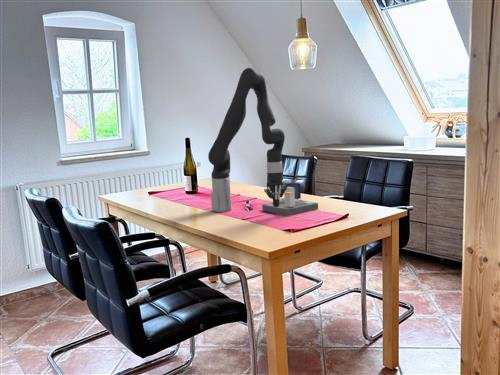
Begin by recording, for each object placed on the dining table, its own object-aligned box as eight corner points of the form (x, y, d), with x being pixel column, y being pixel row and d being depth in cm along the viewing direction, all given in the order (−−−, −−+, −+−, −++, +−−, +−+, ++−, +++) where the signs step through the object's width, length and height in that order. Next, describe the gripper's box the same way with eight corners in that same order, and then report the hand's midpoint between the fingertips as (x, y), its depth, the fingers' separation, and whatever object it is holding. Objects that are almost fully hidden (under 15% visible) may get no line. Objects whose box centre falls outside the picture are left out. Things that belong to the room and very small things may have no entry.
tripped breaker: (290, 206, 236) (289, 193, 234) (284, 205, 239) (284, 192, 238) (294, 205, 237) (294, 192, 236) (289, 204, 240) (288, 191, 239)
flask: (284, 198, 277) (284, 179, 275) (286, 197, 280) (285, 178, 278) (299, 198, 273) (299, 180, 271) (301, 197, 276) (301, 179, 274)
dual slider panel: (287, 215, 232) (286, 209, 232) (262, 210, 247) (262, 204, 247) (318, 208, 245) (318, 202, 244) (292, 203, 260) (292, 198, 259)
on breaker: (290, 200, 250) (289, 188, 249) (285, 200, 253) (284, 187, 252) (294, 200, 252) (294, 187, 251) (289, 199, 255) (289, 186, 254)
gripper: (269, 173, 223) (270, 210, 226) (290, 170, 231) (291, 205, 234) (259, 172, 229) (260, 207, 232) (280, 168, 237) (281, 203, 240)
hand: (276, 206), depth 233 cm, fingers closed
